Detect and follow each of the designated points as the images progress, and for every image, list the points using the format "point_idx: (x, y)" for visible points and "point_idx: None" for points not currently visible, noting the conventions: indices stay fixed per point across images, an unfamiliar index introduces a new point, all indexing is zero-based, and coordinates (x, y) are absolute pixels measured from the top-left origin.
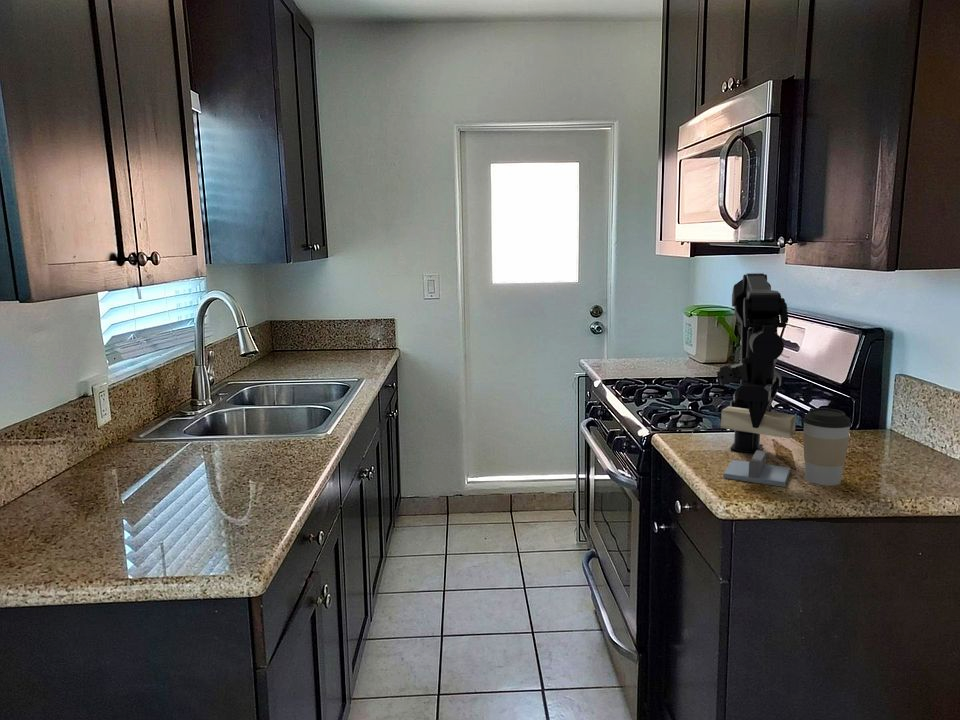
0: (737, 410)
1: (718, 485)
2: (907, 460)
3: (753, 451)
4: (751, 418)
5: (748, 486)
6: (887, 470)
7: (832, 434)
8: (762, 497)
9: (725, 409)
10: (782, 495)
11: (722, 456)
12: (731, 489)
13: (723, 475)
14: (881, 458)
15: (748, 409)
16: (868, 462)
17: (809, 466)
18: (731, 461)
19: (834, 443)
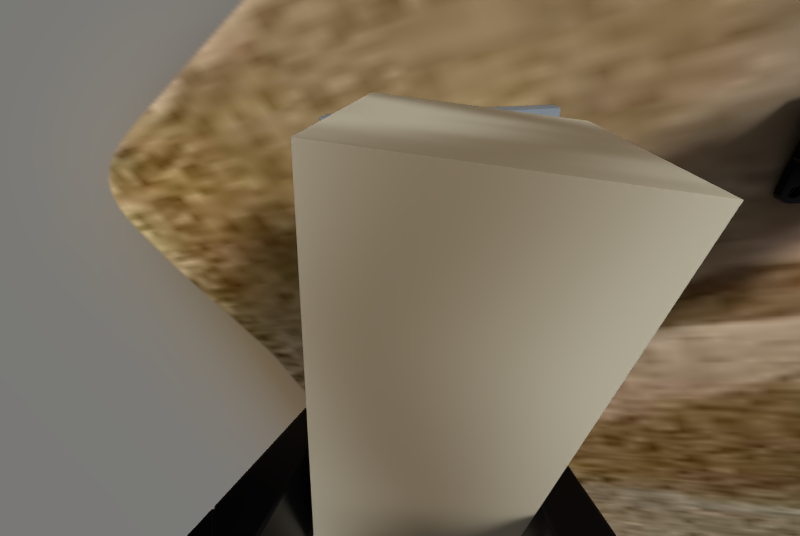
0: (409, 376)
1: (225, 118)
2: (728, 531)
3: (789, 175)
4: (265, 456)
5: (292, 224)
6: (622, 496)
7: None
8: (226, 274)
9: (384, 201)
10: (282, 317)
11: (705, 8)
12: (221, 176)
13: (323, 116)
14: (743, 500)
15: (533, 470)
16: (694, 477)
17: None
18: (527, 110)
19: None
